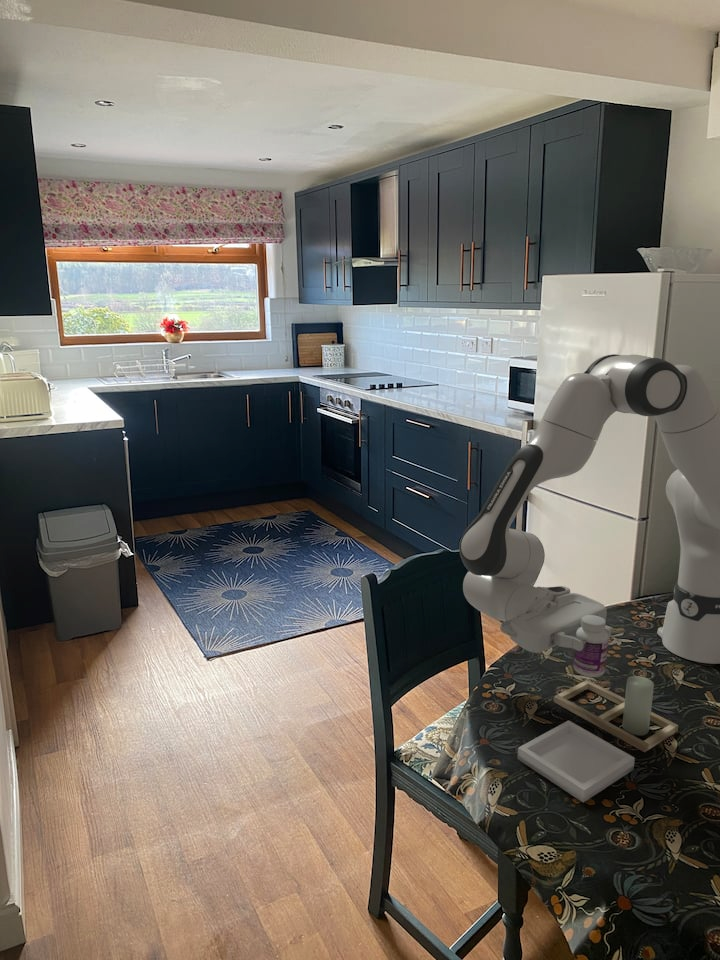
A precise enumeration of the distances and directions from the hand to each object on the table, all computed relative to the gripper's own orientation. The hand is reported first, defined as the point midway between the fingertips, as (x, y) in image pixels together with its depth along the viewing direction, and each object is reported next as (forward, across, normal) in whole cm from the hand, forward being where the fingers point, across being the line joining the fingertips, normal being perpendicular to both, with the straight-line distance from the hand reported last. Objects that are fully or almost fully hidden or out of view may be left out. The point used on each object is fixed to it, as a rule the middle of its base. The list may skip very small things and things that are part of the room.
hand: (596, 640), depth 122 cm
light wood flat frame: (0, +7, +17) cm, 18 cm away
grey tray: (+5, -10, +17) cm, 21 cm away
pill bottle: (-1, 0, +6) cm, 6 cm away
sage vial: (+5, +7, +17) cm, 19 cm away
